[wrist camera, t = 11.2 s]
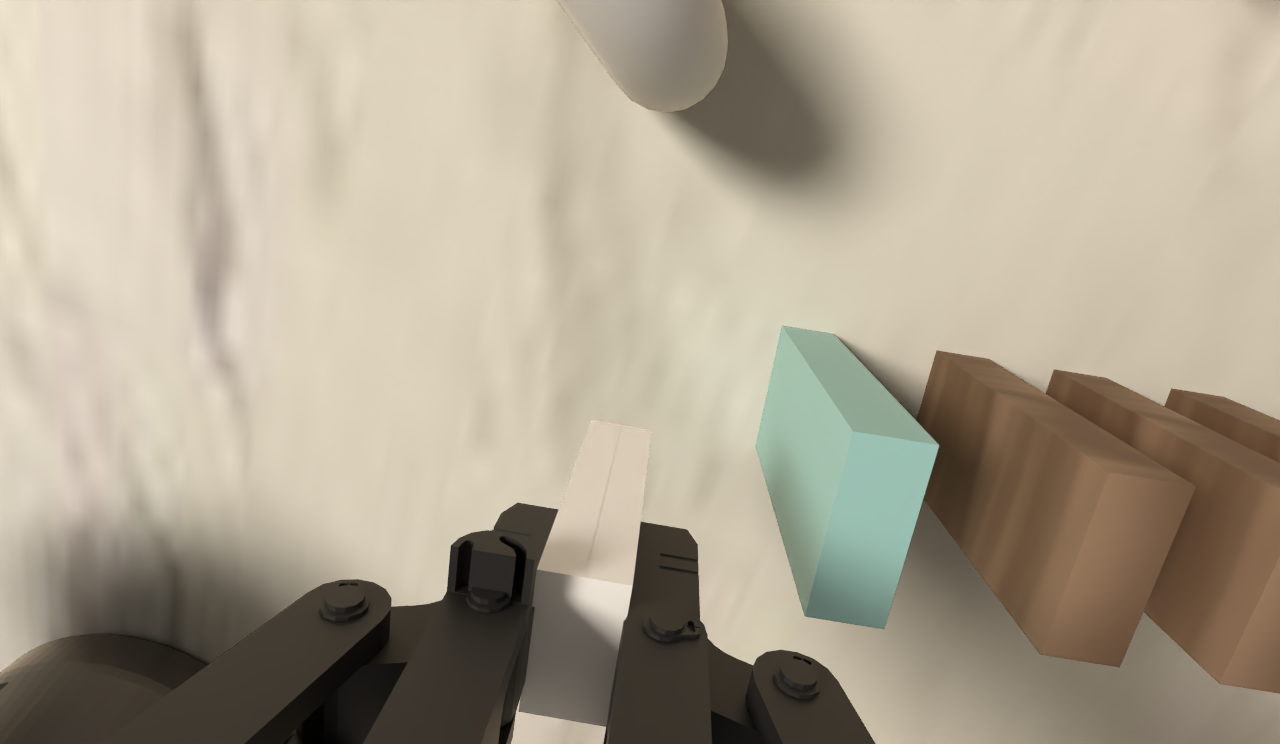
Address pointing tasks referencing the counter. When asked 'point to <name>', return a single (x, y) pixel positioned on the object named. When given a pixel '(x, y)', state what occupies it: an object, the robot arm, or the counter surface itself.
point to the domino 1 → (1048, 507)
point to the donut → (656, 46)
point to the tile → (841, 477)
